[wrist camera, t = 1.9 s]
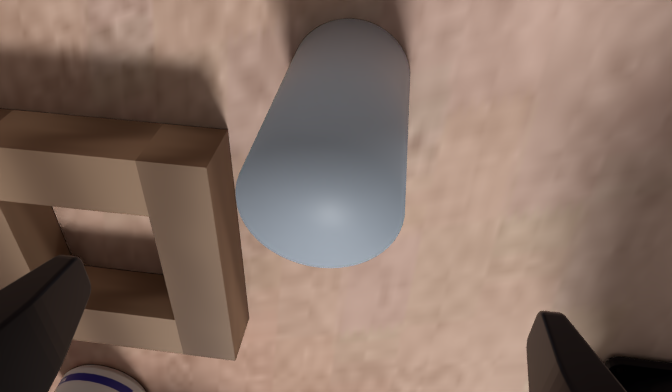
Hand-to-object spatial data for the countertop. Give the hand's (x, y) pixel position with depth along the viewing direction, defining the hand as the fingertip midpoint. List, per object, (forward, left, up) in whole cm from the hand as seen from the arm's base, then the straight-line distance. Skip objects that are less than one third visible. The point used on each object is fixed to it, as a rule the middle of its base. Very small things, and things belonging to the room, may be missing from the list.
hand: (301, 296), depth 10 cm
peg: (0, 0, -10) cm, 10 cm away
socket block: (+10, +8, -10) cm, 16 cm away
